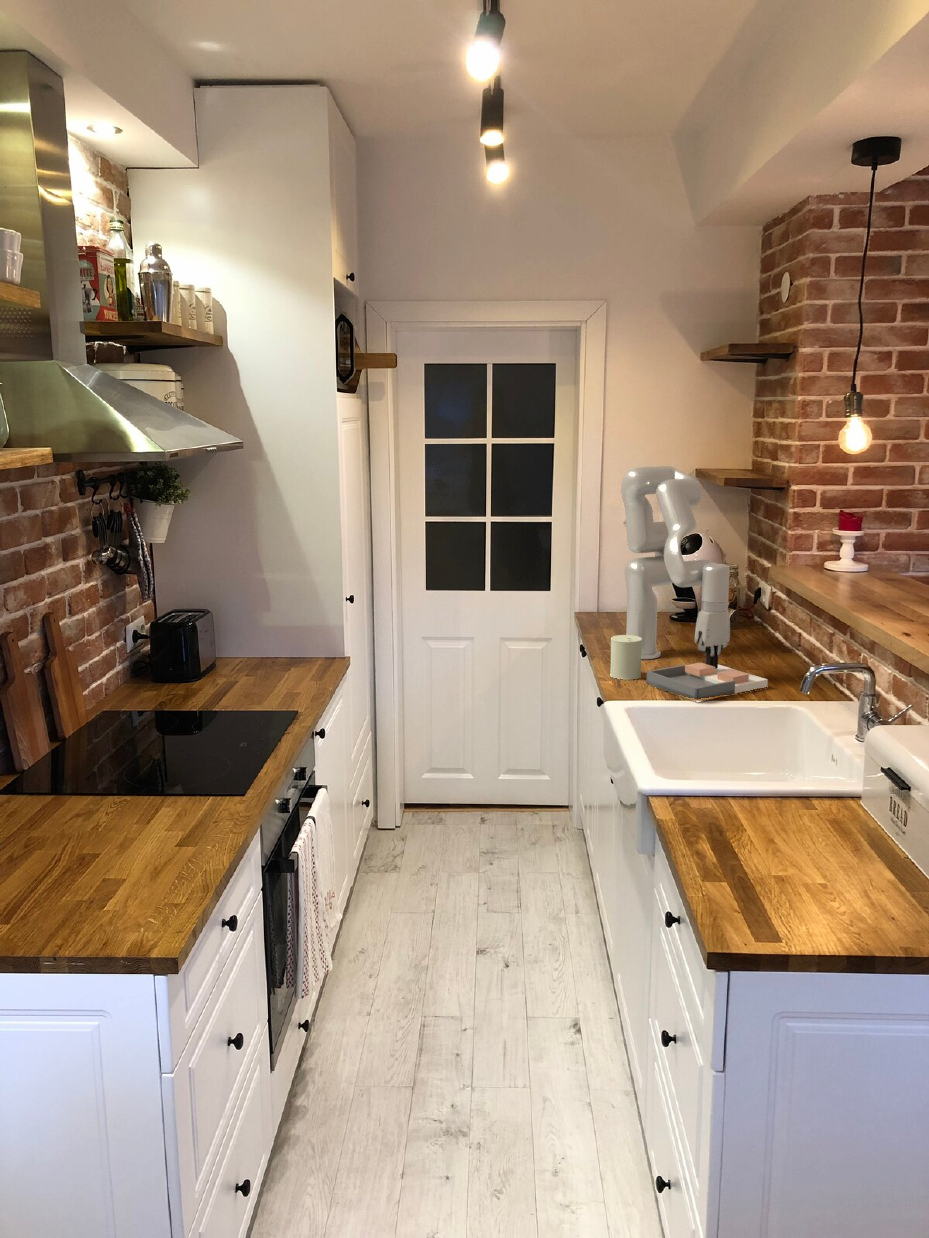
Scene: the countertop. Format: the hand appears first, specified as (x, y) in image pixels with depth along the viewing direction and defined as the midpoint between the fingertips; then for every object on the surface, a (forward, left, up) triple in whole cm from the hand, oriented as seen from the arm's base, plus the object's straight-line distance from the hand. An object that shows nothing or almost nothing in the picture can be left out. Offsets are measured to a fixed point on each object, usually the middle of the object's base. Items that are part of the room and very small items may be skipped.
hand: (711, 667), depth 285 cm
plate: (+5, 0, -3) cm, 6 cm away
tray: (+5, -13, -3) cm, 15 cm away
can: (-16, -19, -4) cm, 25 cm away
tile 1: (0, -5, -1) cm, 5 cm away
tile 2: (+11, -2, -1) cm, 11 cm away
